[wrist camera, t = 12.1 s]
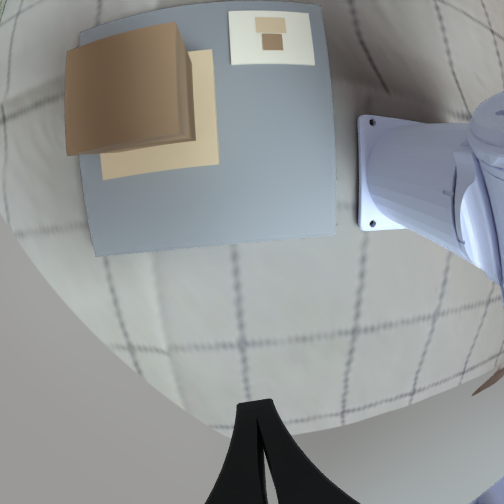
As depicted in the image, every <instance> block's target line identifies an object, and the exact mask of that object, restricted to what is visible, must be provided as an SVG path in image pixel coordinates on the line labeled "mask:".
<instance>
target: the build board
mask: <svg viewBox="0 0 504 504" xmlns="http://www.w3.org/2000/svg"><path fill="white" fill-rule="evenodd" d="M175 21H176V23H177V26H178V29H179V31H180V34H181V36H182V39H183V42H184V44H185V47H186V49H187V52H188V55H189V57H190V60H191V62H192V75H193V98H194V116H195V131H196V141H189V142H181V143H173V144H166V145H159V146H153V147H147V148H141V149H135V150H130V151H124V152H119V153H102V154H85V155H79V161H80V170H81V179H82V187H83V194H84V200H85V207H86V213H87V218H88V224H89V229H90V234H91V239H92V243H93V248H94V252H95V257H99V256H109V255H119V254H129V253H140V252H150V251H161V250H171V249H182V248H193V247H204V246H215V245H227V244H238V243H250V242H261V241H273V240H285V239H297V238H310V237H322V236H335V235H336V153H335V130H334V113H333V100H332V88H331V77H330V68H329V59H328V51H327V43H326V36H325V29H324V23H323V17H322V11H321V5H315V4H307V3H296V2H283V1H223V2H210V3H200V4H191V5H184V6H177V7H171V8H165V9H160V10H155V11H150V12H146V13H141V14H137V15H133V16H129V17H125V18H122V19H118V20H115V21H111V22H108V23H105V24H102V25H99V26H96V27H93V28H90V29H88V30H85V31H82V32H80V41H79V47H80V46H82V45H85V44H88V43H91V42H94V41H97V40H100V39H103V38H106V37H109V36H113V35H116V34H120V33H123V32H127V31H131V30H135V29H139V28H144V27H148V26H153V25H158V24H164V23H169V22H175Z"/></svg>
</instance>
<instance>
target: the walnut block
mask: <svg viewBox="0 0 504 504" xmlns="http://www.w3.org/2000/svg"><path fill="white" fill-rule="evenodd" d="M65 134H66V150H67V156H73V155H85V154H102V153H119V152H124V151H130V150H135V149H141V148H147V147H153V146H159V145H166V144H173V143H181V142H189V141H196V131H195V116H194V98H193V75H192V62H191V60H190V57H189V55H188V52H187V49H186V47H185V44H184V42H183V39H182V36H181V34H180V31H179V29H178V26H177V23H176V21H175V22H169V23H164V24H158V25H153V26H148V27H144V28H139V29H135V30H131V31H127V32H123V33H120V34H116V35H113V36H109V37H106V38H103V39H100V40H97V41H94V42H91V43H88V44H85V45H82V46H80V47H77V48H74V49H72V50H69V51H67V61H66V76H65Z"/></svg>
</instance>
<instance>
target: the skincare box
mask: <svg viewBox="0 0 504 504" xmlns="http://www.w3.org/2000/svg"><path fill="white" fill-rule="evenodd" d="M5 2H6V0H0V19H1V16H2V12H3V9H4V5H5Z"/></svg>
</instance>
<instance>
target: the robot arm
mask: <svg viewBox="0 0 504 504" xmlns="http://www.w3.org/2000/svg"><path fill="white" fill-rule="evenodd" d="M370 119H371V120H372V121H373V126H371V125H370V123H369V121H370ZM357 123H358V145H359V214H358V226H359V228H360V229H362V230H363V231H374V230H388V229H403V228H408V229H410V230H412V231H414V232H416V233H418V234H420V235H422V236H424V237H425V238H427V239H429V240H431V241H433V242H435V243H437V244H439V245H440V246H442V247H444V248H446V249H448V250H449V251H451V252H453V253H455V254H457V255H458V256H460V257H462V258H463V259H465V260H467V261H469V262H470V263H472V264H474V265H475V266H477V267H479V268H480V269H482V270H484V271H485V274H486V277H487V278H489V279H490V280H492V281H493V282H495V283H496V284H498V285H499V286H501V296H502V303H503V307H504V91H503V92H500V93H498V94H496V95H494V96H492V97H490V98H488V99H487V100H485V101H484V102H482V103H481V104H480V105H479V106H478V107H477V108H476V110H475V111H474V113H473V116H472V118H471V120H470V121H469V123H432V124H426V123H421V122H415V121H409V120H403V119H397V118H390V117H382V116H374V115H361V116H359V118H358V121H357ZM372 220H373V225H372V226H370V222H371V221H372ZM264 452H265V455H266V459H267V462H268V466H269V469H270V473H271V476H272V479H273V482H274V486H275V489H276V493H277V498H278V503H279V504H360V503H359V502H357V501H356V500H354V499H353V498H351V497H350V496H349V495H347V494H346V493H345V492H343V491H342V490H341V489H340V488H338V487H337V486H336V485H335V484H334V483H332V482H331V481H330V480H329V479H328V478H327V477H326V476H325V475H324V474H323V473H321V472H320V470H319V469H318V468H317V467H316V466H315V465H314V464H313V463H312V462H311V461H310V460H309V458H307V456H306V455H305V454H304V452H303V451H302V450H301V449H300V447H299V446H298V445H297V443H296V442H295V441H294V439H293V438H292V436H291V435H290V433H289V432H288V430H287V429H286V427H285V426H284V424H283V422H282V420H281V418H280V417H279V415H278V413H277V410H276V408H275V406H274V403H273V400H272V399H270V398H269V399H263V400H257V401H251V402H244V403H239V404H238V405H237V411H236V419H235V425H234V430H233V435H232V438H231V442H230V446H229V450H228V453H227V455H226V459H225V461H224V464H223V467H222V470H221V472H220V474H219V477H218V479H217V481H216V483H215V485H214V488H213V490H212V491H211V493H210V495H209V497H208V499H207V501H206V502H205V504H268V500H267V492H266V480H265V479H266V478H265V464H264ZM469 504H504V476H503V477H502V478H501V479H500V480H499V481H498V482H496V483H495V484H494V485H493V486H491V487H490V488H489V489H488V490H487V491H485V492H484V493H483V494H481V495H480V496H479V497H478V498H476V499H475V500H474V501H472V502H471V503H469Z"/></svg>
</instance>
